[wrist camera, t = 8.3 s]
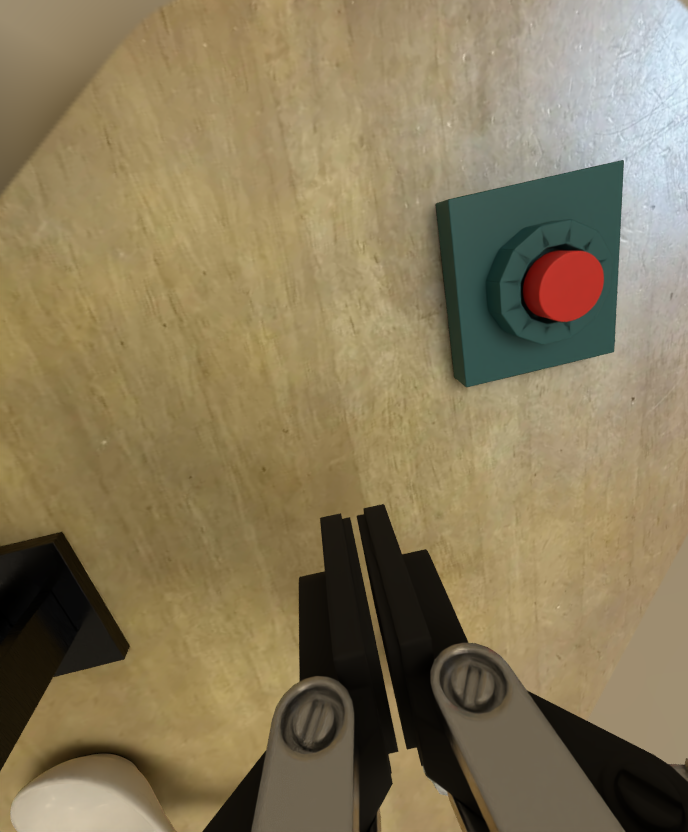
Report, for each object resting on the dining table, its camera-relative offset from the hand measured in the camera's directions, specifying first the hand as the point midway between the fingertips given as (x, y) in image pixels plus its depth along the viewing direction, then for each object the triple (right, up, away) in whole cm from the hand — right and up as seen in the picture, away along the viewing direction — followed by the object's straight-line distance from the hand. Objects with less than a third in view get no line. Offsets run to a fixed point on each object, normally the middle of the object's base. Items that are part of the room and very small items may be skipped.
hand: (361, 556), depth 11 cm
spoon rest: (-18, -32, +30) cm, 47 cm away
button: (+11, +11, +13) cm, 20 cm away
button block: (+11, +12, +16) cm, 23 cm away
